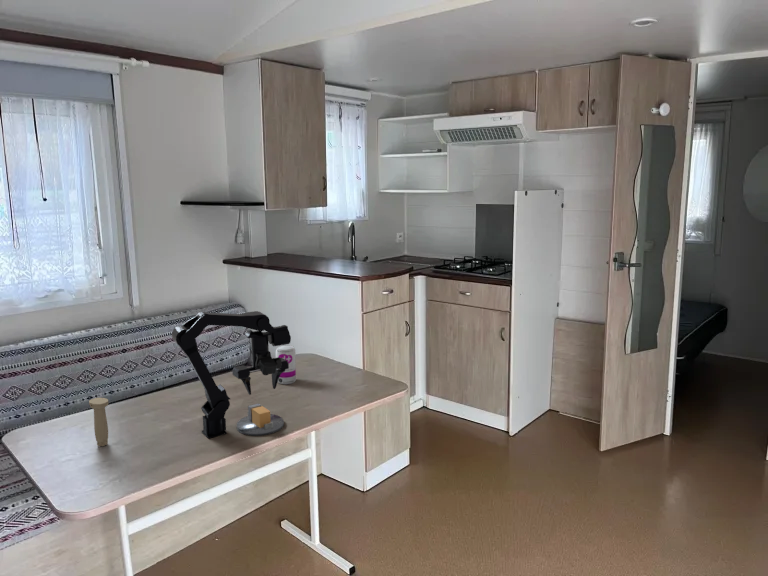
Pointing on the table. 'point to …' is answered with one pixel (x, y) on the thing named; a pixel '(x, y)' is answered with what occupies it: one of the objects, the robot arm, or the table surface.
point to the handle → (100, 420)
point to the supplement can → (289, 355)
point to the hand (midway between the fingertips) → (262, 391)
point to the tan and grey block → (258, 415)
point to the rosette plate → (253, 430)
